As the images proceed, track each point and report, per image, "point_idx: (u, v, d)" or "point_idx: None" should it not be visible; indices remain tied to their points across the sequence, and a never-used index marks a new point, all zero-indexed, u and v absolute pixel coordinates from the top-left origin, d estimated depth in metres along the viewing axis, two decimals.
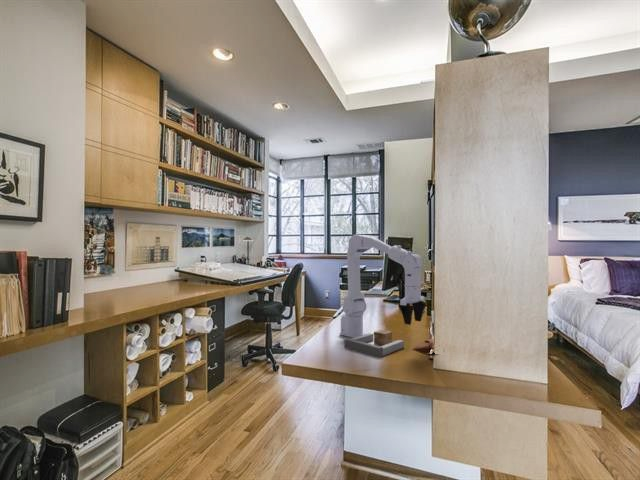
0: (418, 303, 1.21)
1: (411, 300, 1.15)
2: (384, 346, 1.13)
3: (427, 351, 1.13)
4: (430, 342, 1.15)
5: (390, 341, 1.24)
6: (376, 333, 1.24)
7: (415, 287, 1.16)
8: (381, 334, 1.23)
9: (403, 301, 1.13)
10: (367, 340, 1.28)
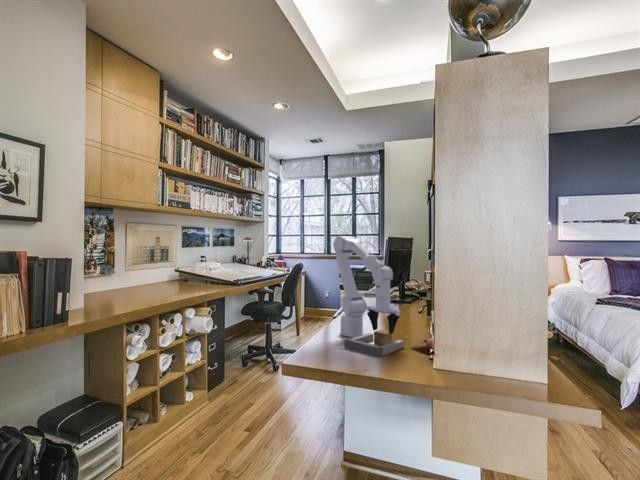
0: None
1: (371, 308, 1.27)
2: (384, 346, 1.13)
3: (425, 350, 1.14)
4: (428, 342, 1.16)
5: (390, 341, 1.24)
6: (376, 333, 1.24)
7: None
8: (381, 334, 1.23)
9: None
10: (367, 340, 1.28)
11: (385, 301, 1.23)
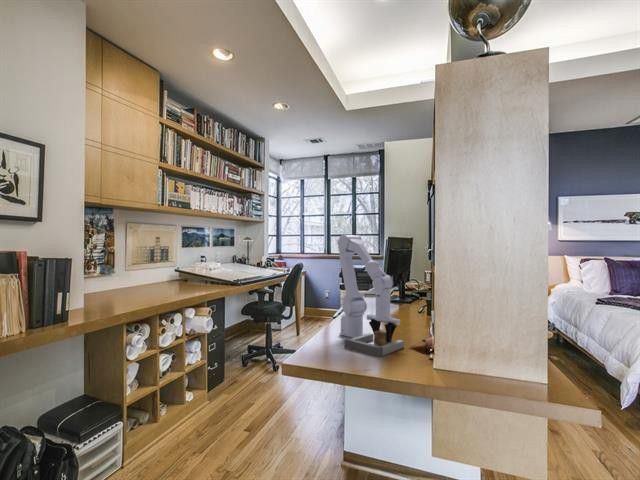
0: None
1: (371, 317, 1.27)
2: (384, 346, 1.13)
3: (423, 350, 1.14)
4: (426, 341, 1.16)
5: None
6: (376, 333, 1.24)
7: None
8: (381, 334, 1.23)
9: None
10: (367, 340, 1.28)
11: (385, 310, 1.23)
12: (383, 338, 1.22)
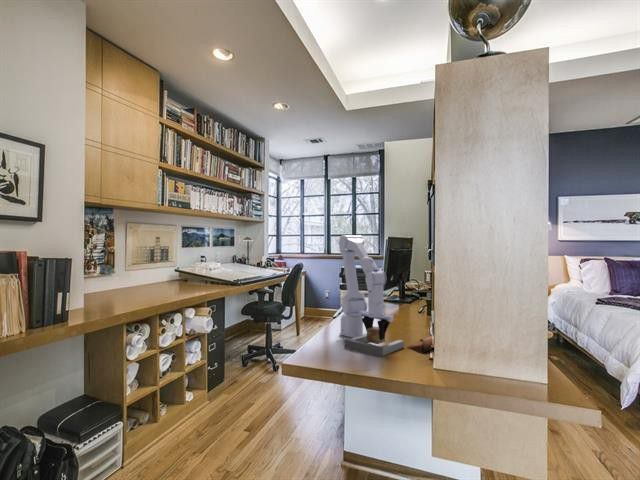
0: None
1: (364, 313, 1.24)
2: (384, 346, 1.13)
3: (420, 349, 1.15)
4: (424, 341, 1.17)
5: None
6: (369, 330, 1.21)
7: (368, 302, 1.22)
8: (374, 331, 1.19)
9: None
10: None
11: (378, 307, 1.19)
12: (376, 335, 1.19)
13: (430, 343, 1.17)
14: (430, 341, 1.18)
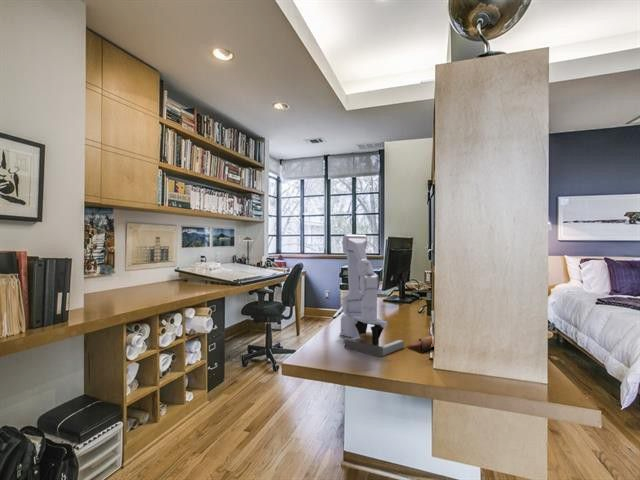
0: None
1: (357, 318, 1.21)
2: (384, 346, 1.13)
3: (418, 349, 1.16)
4: (422, 340, 1.18)
5: None
6: (362, 336, 1.18)
7: (361, 307, 1.19)
8: (367, 337, 1.16)
9: None
10: None
11: (371, 312, 1.16)
12: (369, 341, 1.16)
13: (428, 343, 1.18)
14: (428, 341, 1.19)
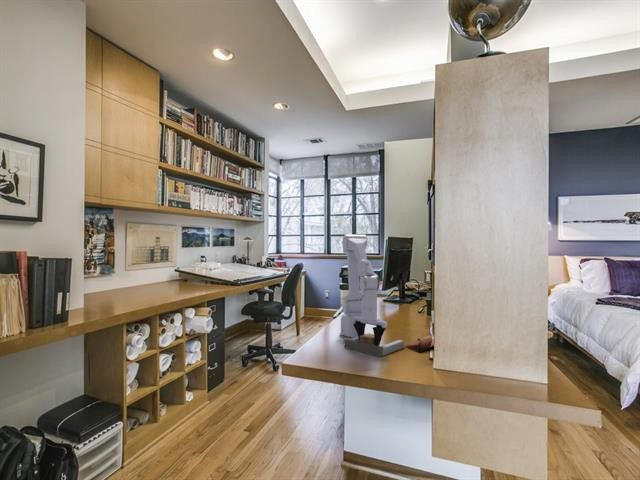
0: None
1: (357, 319, 1.21)
2: (384, 346, 1.13)
3: (417, 349, 1.16)
4: (421, 340, 1.18)
5: None
6: (362, 337, 1.18)
7: (361, 308, 1.19)
8: (367, 338, 1.16)
9: None
10: None
11: (371, 312, 1.16)
12: (369, 343, 1.16)
13: (427, 342, 1.18)
14: (427, 340, 1.19)
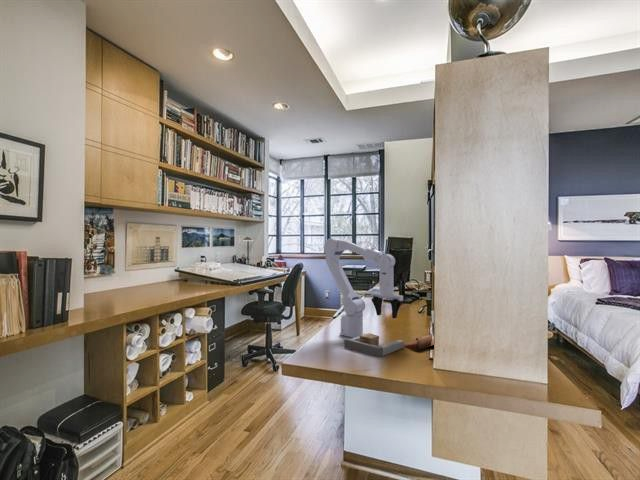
0: None
1: (375, 294, 1.32)
2: (384, 346, 1.13)
3: (415, 348, 1.17)
4: (419, 340, 1.19)
5: None
6: (362, 337, 1.18)
7: None
8: (367, 338, 1.16)
9: None
10: None
11: (388, 287, 1.28)
12: (369, 343, 1.16)
13: (425, 342, 1.19)
14: (425, 340, 1.20)
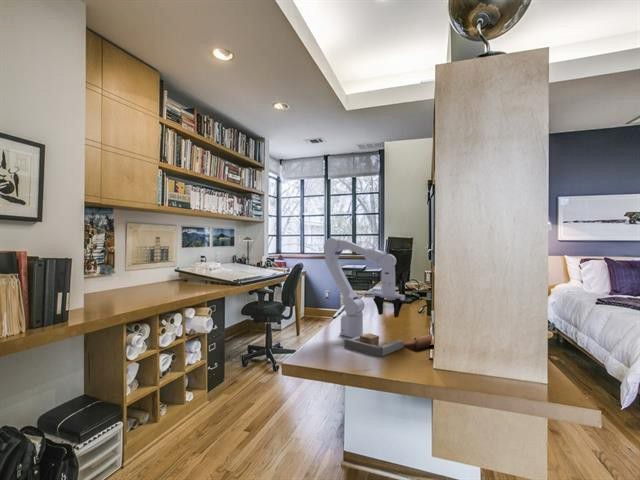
0: None
1: (377, 293, 1.34)
2: (384, 346, 1.13)
3: (413, 348, 1.17)
4: (417, 339, 1.19)
5: None
6: (362, 337, 1.18)
7: (381, 283, 1.32)
8: (367, 338, 1.16)
9: None
10: None
11: (390, 287, 1.29)
12: (369, 343, 1.16)
13: (423, 342, 1.19)
14: (423, 340, 1.20)
